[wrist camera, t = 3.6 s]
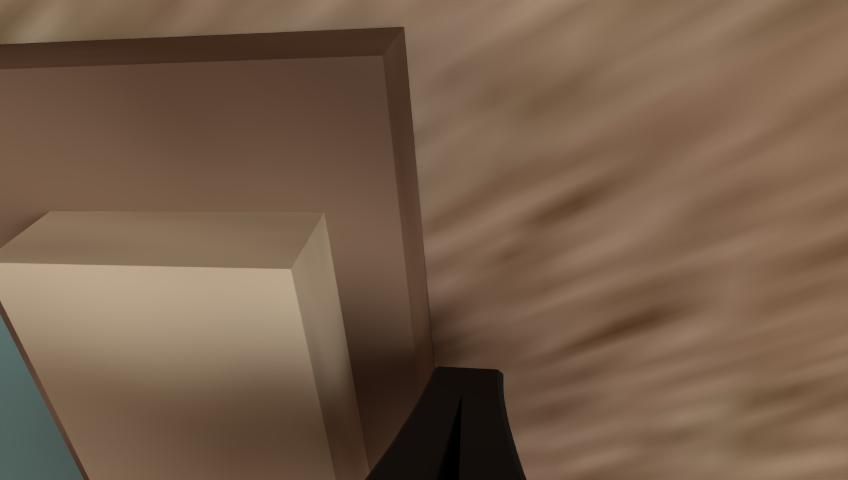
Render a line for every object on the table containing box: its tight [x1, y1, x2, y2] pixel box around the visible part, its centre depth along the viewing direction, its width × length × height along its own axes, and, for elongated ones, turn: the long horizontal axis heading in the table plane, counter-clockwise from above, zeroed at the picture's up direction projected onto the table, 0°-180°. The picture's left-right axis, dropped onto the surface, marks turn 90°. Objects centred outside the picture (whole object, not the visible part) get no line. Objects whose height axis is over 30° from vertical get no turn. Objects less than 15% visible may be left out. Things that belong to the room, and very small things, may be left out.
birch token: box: [0, 211, 370, 480], centre depth 14 cm, size 8×6×2 cm
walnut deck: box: [0, 27, 435, 480], centre depth 16 cm, size 14×10×2 cm
